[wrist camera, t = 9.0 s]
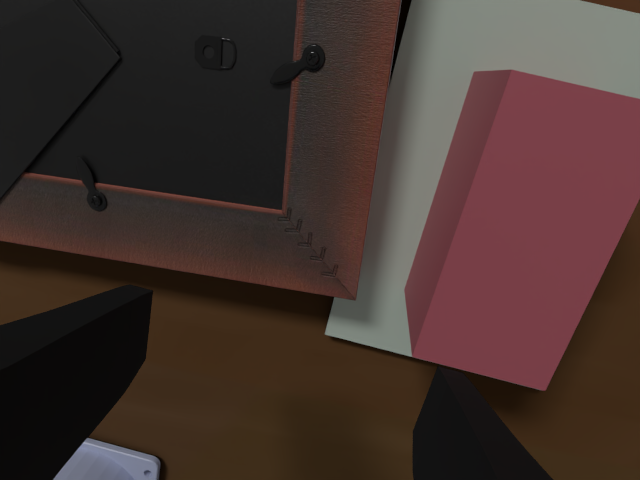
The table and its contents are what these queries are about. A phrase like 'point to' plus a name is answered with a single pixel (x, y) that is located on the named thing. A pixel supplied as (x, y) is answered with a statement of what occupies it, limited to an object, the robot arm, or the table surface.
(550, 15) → the sage mat
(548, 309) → the card box
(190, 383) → the table surface
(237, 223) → the picture frame
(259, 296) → the table surface
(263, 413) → the table surface
